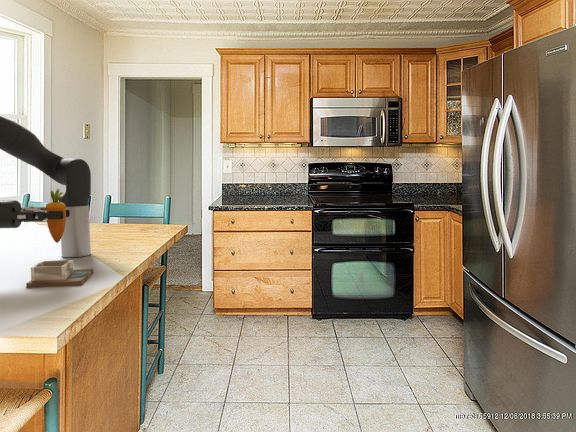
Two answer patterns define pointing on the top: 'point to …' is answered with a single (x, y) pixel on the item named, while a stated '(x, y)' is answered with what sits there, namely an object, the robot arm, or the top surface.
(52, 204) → the carrot
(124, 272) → the top surface
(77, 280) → the socket board
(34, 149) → the robot arm
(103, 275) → the top surface
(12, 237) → the top surface
